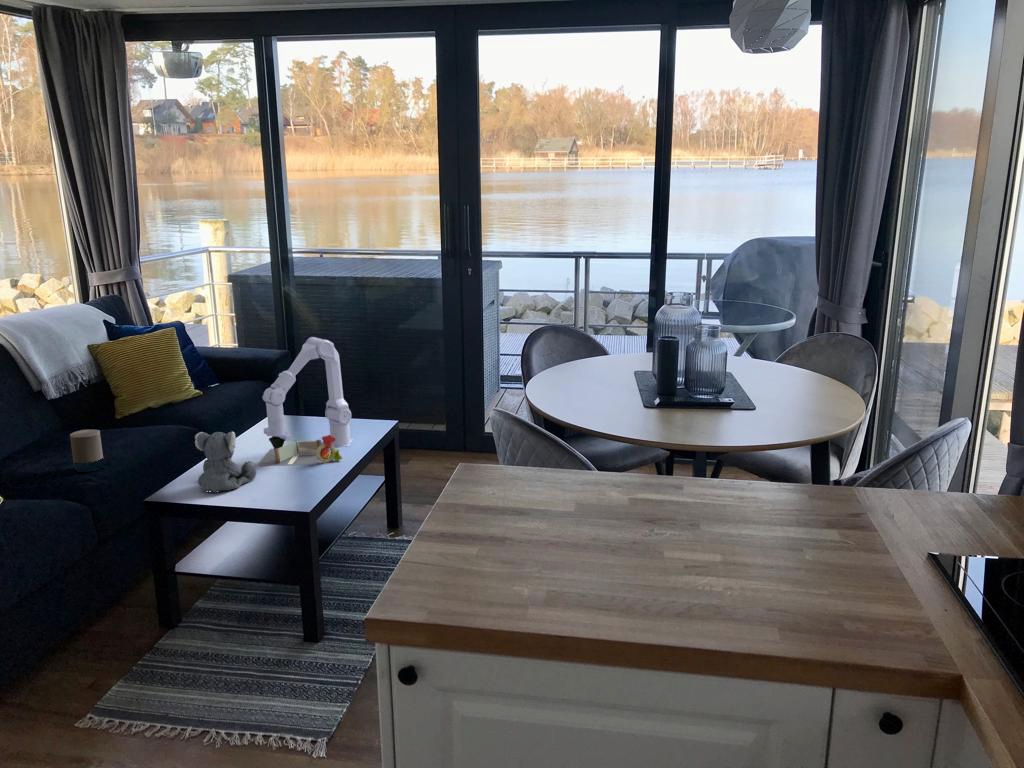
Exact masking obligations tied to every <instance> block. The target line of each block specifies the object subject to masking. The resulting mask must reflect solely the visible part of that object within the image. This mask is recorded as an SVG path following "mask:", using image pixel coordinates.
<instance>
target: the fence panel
mask: <svg viewBox="0 0 1024 768" xmlns="http://www.w3.org/2000/svg"><path fill="white" fill-rule="evenodd" d="M298 448H299V444H298V440H297V439H296V440H294V441H292V442H289V443H288V444H285V445H283V446H282V447H280V448H276V449H274V448H273V449H274V451H275V461H276V463H280V462H282V461H284V460H286V459H288V458H290V457H293V456H295V455H297V454H298Z"/></svg>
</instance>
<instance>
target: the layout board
mask: <svg viewBox="0 0 1024 768" xmlns="http://www.w3.org/2000/svg"><path fill="white" fill-rule="evenodd" d="M323 449H324V448H323ZM319 462H320V460H319V459H318V458H317V456H316V454H299V447H298V454H297V455H295V456H293V457H290V458H288V459H286V460H284V461H282V462H280V463H276V461H275V452H274V448H270V449H269V450H268V451H267V453H265V454H264V456H263V457H262V458H261V459H260V460H259V462H258V463H257V464H256V466H255V467H272V466H276V467H277V466H279V467H280V466H283V467H284V466H285V467H286V466H316V465H318V464H319Z"/></svg>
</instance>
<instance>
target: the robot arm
mask: <svg viewBox="0 0 1024 768" xmlns="http://www.w3.org/2000/svg"><path fill="white" fill-rule="evenodd" d="M320 358H321V359H322V360H323V361H324V364H325V372H326V381H327V384H326V385H327V391H328V400H327V401H326V403H325V405H326V407H325V411H324V413H325V418H326V419H327V420H328V423H329V432H330V433H329V435H331V436H332V437H333V438H335V439H336V440H335V441H334V442H333V443H331V444H332V445H333V446H334V448H340V447H341V448H342V447H343V448H345V447H350V445H351V443H352V441H353V439H354V438H351V430H350V429H351V427H350V421H351V419H352V412H351V409H350V408H349V403H348V402H347V401H346V400H345V398H344V390H343V380H342V372H341V371H342V370H341V361H340V354H339V352H338V351H337V349H336V348H335V343H333V342H332V341H330V340H328V339H323V338H320V337H316V336H310V337H309V338H308V339H307V340H306V341H305V343H303V344H302V347H301V350H300V352H299V353H298V355H297V356H296V357H295V359H294V361H293V362H292V364H291V365H290V367H289V368H288V369H287V370H283V371H282V372H279V374H278V377H277V378H276V380H275V381H274V382H273V383H271V385H270V387H268V388H266V389H265V390H264V392H263V395H262V397H261V398H262V400H263V401H264V402H265V406H266V416H267V417H266V418H267V425H268V427H264V428H263V434H264V435H265V434H266V436H267V437H269V438H268V441H269V443H271V445H272V448H273V449H276V448H280V447H282V446H284V443H285V442H289V441H292V435H291V433H289V432H288V431H286V429H285V427H286V426H285V414H284V407H283V403H284V402H285V400H286V395H287V394H288V392H289V390H290V389H291V388H292V386H293V385H294V384H295V382H296V381H297V379H296V375H297V374H299V372H300V371H301V370H302V369H303V368H304V366H306V364H307V363H308V362H309V361H310V360H317V359H320ZM274 452H275V451H274Z"/></svg>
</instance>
